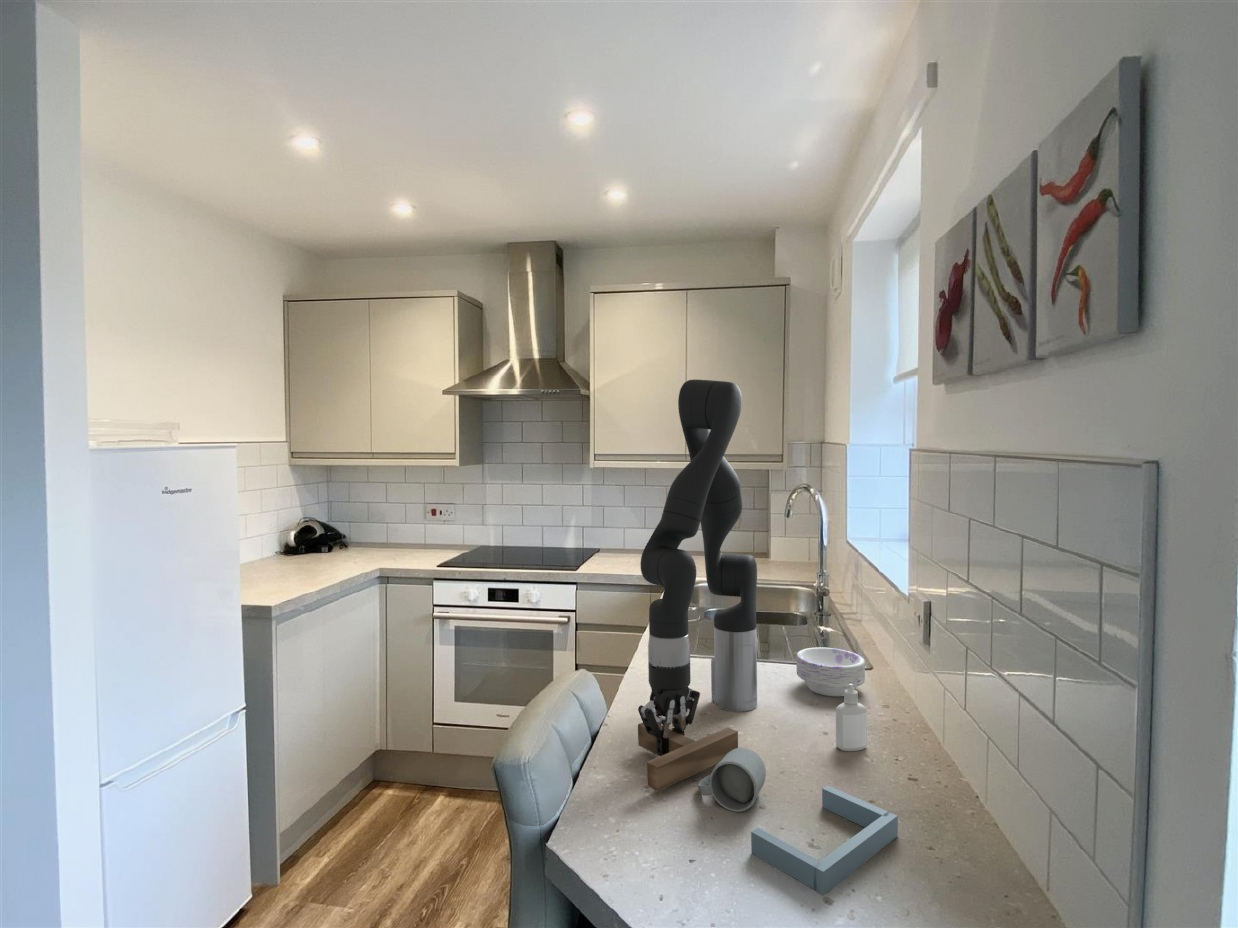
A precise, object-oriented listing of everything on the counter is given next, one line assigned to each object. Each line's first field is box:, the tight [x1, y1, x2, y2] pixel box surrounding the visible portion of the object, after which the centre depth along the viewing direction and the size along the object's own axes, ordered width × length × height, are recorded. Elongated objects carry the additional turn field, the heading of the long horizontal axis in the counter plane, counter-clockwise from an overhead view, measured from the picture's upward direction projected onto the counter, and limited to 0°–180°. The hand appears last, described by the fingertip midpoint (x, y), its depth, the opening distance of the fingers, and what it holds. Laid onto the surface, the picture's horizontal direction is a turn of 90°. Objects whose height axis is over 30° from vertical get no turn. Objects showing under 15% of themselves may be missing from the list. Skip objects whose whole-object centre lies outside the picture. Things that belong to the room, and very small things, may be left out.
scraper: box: [637, 722, 739, 792], centre depth 118 cm, size 14×20×4 cm
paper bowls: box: [795, 646, 866, 697], centre depth 152 cm, size 15×15×8 cm
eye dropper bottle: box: [835, 684, 868, 752], centre depth 123 cm, size 4×6×12 cm
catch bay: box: [750, 784, 899, 896], centre depth 93 cm, size 12×19×3 cm, turn 130°
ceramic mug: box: [697, 747, 767, 813], centre depth 106 cm, size 11×8×8 cm
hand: (670, 752), depth 118 cm, fingers closed on scraper, 3 cm apart
